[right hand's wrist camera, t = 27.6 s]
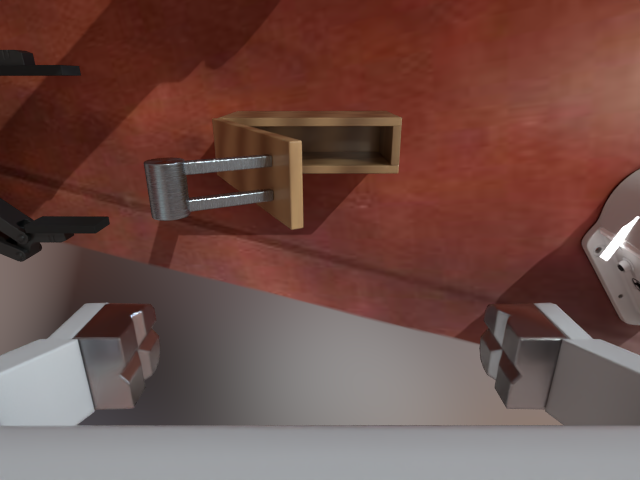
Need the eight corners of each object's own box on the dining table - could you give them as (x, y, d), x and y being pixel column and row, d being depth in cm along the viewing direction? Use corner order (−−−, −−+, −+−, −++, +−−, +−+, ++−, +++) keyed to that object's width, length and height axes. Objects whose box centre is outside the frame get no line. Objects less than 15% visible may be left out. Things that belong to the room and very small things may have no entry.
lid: (302, 140, 24) (146, 150, 20) (303, 228, 25) (161, 252, 22) (221, 118, 38) (123, 121, 35) (225, 174, 40) (133, 183, 37)
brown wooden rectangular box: (386, 110, 48) (402, 117, 39) (384, 157, 50) (398, 173, 41) (236, 111, 48) (217, 117, 39) (240, 157, 50) (222, 174, 41)
